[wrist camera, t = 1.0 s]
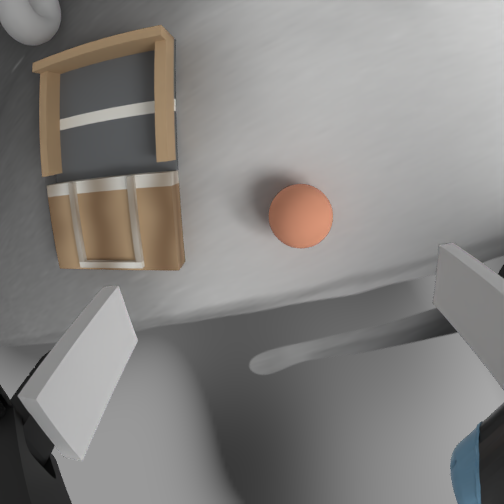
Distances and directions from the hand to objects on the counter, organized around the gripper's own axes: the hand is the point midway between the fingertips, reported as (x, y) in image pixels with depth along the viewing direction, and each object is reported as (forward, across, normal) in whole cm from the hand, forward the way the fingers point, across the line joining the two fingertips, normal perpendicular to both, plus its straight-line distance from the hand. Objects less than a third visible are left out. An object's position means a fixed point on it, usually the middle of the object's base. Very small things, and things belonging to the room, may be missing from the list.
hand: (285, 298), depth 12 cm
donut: (+20, +20, -25) cm, 38 cm away
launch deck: (+19, +15, 0) cm, 24 cm away
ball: (+15, -3, +1) cm, 16 cm away
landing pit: (+19, +14, -11) cm, 26 cm away
